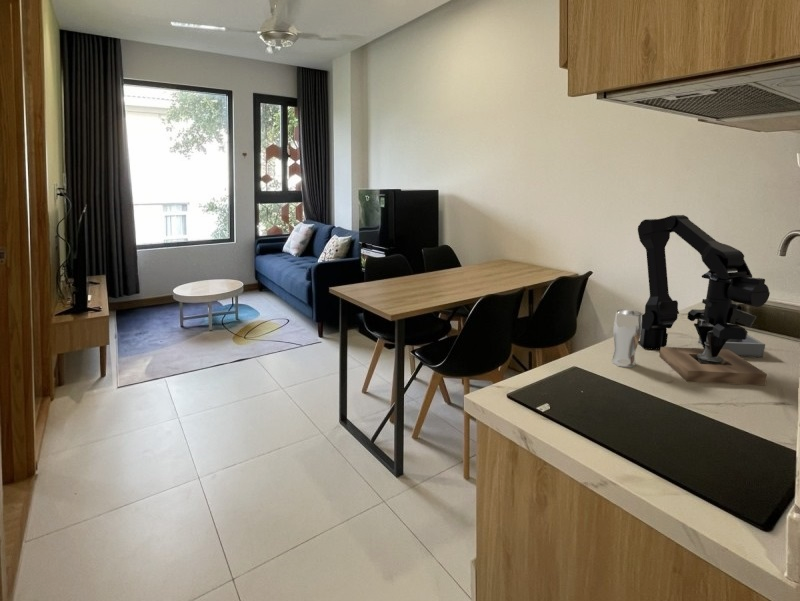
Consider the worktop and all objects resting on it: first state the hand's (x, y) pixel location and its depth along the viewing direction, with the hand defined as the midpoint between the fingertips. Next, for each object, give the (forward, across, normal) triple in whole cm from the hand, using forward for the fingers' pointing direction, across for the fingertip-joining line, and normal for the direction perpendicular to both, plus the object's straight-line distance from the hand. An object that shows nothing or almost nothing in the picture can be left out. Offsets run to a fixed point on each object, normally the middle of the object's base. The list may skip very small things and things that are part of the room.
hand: (710, 354), depth 123 cm
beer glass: (+5, +2, +21) cm, 22 cm away
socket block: (+4, 0, 0) cm, 4 cm away
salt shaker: (+5, 0, 0) cm, 5 cm away
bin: (+4, +18, -14) cm, 23 cm away
